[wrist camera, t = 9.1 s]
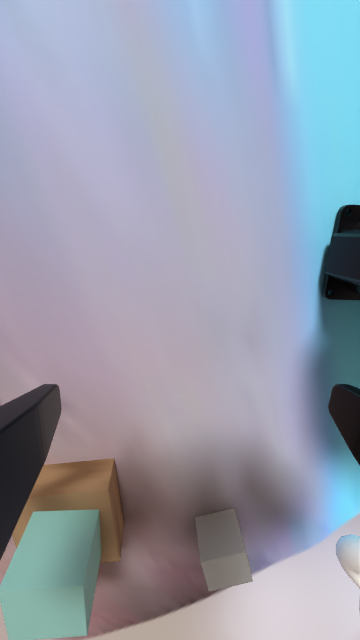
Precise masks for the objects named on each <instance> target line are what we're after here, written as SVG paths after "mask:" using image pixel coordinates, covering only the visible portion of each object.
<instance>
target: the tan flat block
mask: <svg viewBox="0 0 360 640" xmlns="http://www.w3.org/2000/svg"><path fill="white" fill-rule="evenodd" d="M97 509H99V516H100V536H101V559H100V563H106V562H115V561H120V556H121V547H122V539H123V530H124V519H123V513H122V506H121V500H120V493H119V487H118V480H117V474H116V467H115V461H114V459H104V460H93V461H83V462H72V463H61V464H51V465H43V467H42V470H41V472H40V474H39V476H38V478H37V481H36V483H35V485H34V487H33V489H32V492H31V494H30V496H29V498H28V500H27V503H26V505H25V507H24V509H23V511H22V514H21V516H20V518H19V520H18V522H17V525H16V527H15V529H14V531H13V533H12V536H13V539H14V542H15V545H16V548H17V547H18V545H19V543H20V540H21V538H22V536H23V534H24V531H25V529H26V527H27V525H28V522H29V520H30V518H31V516H32V513H33V512H37V511H66V510H97Z"/></svg>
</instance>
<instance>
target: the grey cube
mask: <svg viewBox="0 0 360 640" xmlns="http://www.w3.org/2000/svg"><path fill="white" fill-rule="evenodd" d="M195 524H196V532H197V539H198V547H199V555H200V563H201V566H202V569H203V573H204V576H205V580H206V583H207V586H208V590H209V592H210V591H214V590H218V589H223V588H227V587H231V586H235V585H239V584H244V583H248V582H252V576H251V571H250V566H249V562H248V557H247V552H246V548H245V545H244V541H243V538H242V534H241V530H240V527H239V523H238V519H237V516H236V512H235V509H234V508H232V509H228V510H224V511H219V512H215V513H211V514H206V515H202V516H198V517H195Z"/></svg>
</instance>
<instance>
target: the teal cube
mask: <svg viewBox="0 0 360 640" xmlns="http://www.w3.org/2000/svg"><path fill="white" fill-rule="evenodd" d="M100 559H101V536H100V516H99V509H97V510H66V511H37V512H33V513H32V516H31V518H30V520H29V522H28V525H27V527H26V529H25V531H24V534H23V536H22V538H21V540H20V543H19V545H18V547H17V549H16V552H15V554H14V556H13V558H12V561H11V563H10V565H9V567H8V570H7V572H6V574H5V576H4V579H3V581H2V583H1V585H0V602H1V607H2V612H3V616H4V621H5V625H6V629H7V634H8V639H9V640H34V639H49V638H62V637H76V636H87V633H88V628H89V622H90V616H91V611H92V605H93V599H94V593H95V588H96V582H97V576H98V570H99V565H100Z"/></svg>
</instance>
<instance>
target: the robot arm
mask: <svg viewBox="0 0 360 640" xmlns="http://www.w3.org/2000/svg"><path fill="white" fill-rule="evenodd" d="M346 210H348V215H347V216H346V215H345V211H346ZM325 272H326V274H325V279H324V284H323V289H322V295H323V297H325V298H327V299H335V300H360V205H345V206H342V207H341V208H340V209H339V211H338V215H337V220H336V225H335V229H334V234H333V236H332V238H331V243H330V248H329V253H328V258H327V263H326V268H325ZM329 290H332V292H331V294H329V295H328V292H329ZM328 408H329V412H330V415H331V416H332V418H333V420H334V422H335V424H336V426H337V427H338V429H339V431H340V433H341V435H342V436H343V438H344V440H345V442H346V444H347V446H348V447H349V449H350V451H351V453H352V454H353V456H354V457H355V459H356V461H357V462H358V464H359V465H360V389H359V388H356V387H354V386H351V385H348V384H336V385H334V386H333V388H332V392H331V397H330V401H329V405H328ZM60 415H61V400H60V390H59V386H58V385H57V384H44V385H42V386H40V387H38V388H36V389H34V390H32V391H30V392H28V393H26V394H24V395H22V396H20V397H18V398H16V399H14V400H12V401H10V402H8V403H6V404H4V405H2V406H0V560H1V558H2V555H3V553H4V551H5V549H6V547H7V544H8V542H9V540H10V538H11V536H12V533H13V531H14V529H15V527H16V525H17V522H18V520H19V518H20V516H21V514H22V511H23V509H24V507H25V505H26V503H27V500H28V498H29V496H30V494H31V492H32V489H33V487H34V485H35V483H36V481H37V478H38V476H39V474H40V472H41V470H42V467H43V465H44V463H45V460H46V457H47V455H48V452H49V449H50V445H51V442H52V439H53V436H54V433H55V430H56V427H57V424H58V421H59V418H60Z"/></svg>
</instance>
